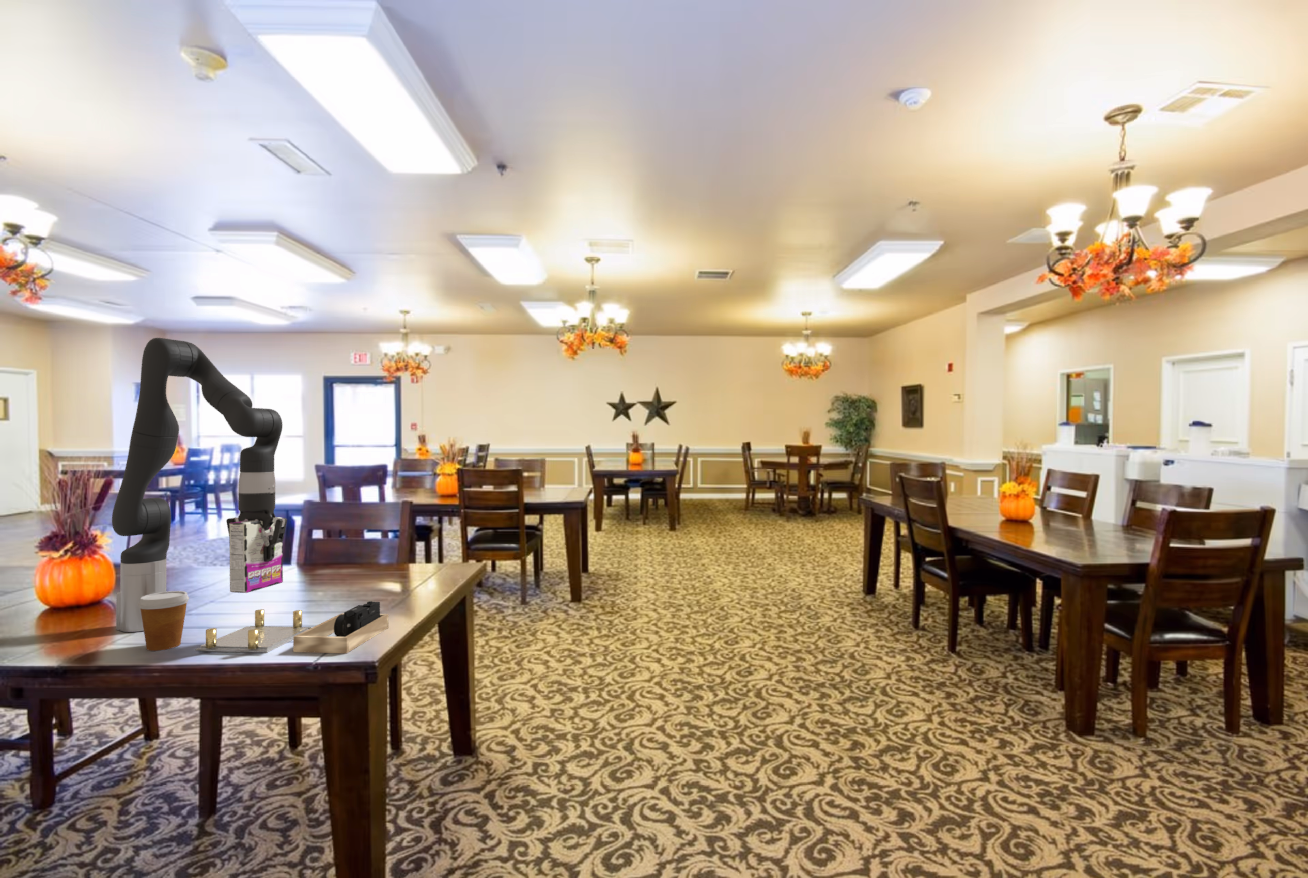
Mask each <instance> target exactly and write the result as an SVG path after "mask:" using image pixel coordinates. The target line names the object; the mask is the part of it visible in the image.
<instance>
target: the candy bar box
mask: <svg viewBox="0 0 1308 878" xmlns="http://www.w3.org/2000/svg"><path fill="white" fill-rule="evenodd" d="M276 517H277V518H281V519H282V518H283V517H280V516H276ZM260 524H262V525H263V522H262V521H254V520H250V521H240V522H234V523H229V532H228V536H229V541H228V542H229V593H238V594H240V593H243V594H244V593H245V594H247V593H251V592H256V591H258V590H262V589H266V588H268V587H273V586H276V585H278V584H281V583H284V577H283V575H284V574H283V573H284V572H283V570H284V568H283V565H284V563H283V562H284V561H283V560H284V558H283V555H284V554H283V541H282V542H280V543H277V544H275V546H274V558H273V560H272V561H269V562H264V547H265V544H264V541H263V539H262V538H261V533H262V532H261V526H260ZM271 527H272V528H273V531H274V528H275V526H274V523H273V524H272V525H271ZM265 532H266V533H268V532H270V528H269V530H266V531H265ZM268 537H269V536H268Z"/></svg>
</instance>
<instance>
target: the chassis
mask: <svg viewBox="0 0 1308 878" xmlns="http://www.w3.org/2000/svg"><path fill="white" fill-rule="evenodd" d="M310 628H312V627H310V626H308V627H307V626H303V610H302V609H296V610H293V611H292V626H275V625H274V626H272V625H271V626H270V625H269V626H268V625H265V609H262V608H260V609H256V610H255V611H254V625H250V626H245V627H243V628H239V629H238V630H234V631H233V632H230V633H228V634H225V635H223V636H221V637H219V638H218V637H217V630H218V629H217V627H210V628H207V629H205V643H204V644H201V645H200V646H199V647H197V648H195V649H194V650H195V651H196V652H197V651H200V652H225V653H230V652H231V653H236V652H237V653H265V654H266V653H270V652H271V651H274V650H275V649H277V648H279V647H282V646H283V645H285V644H287V643H290V642H293V637H294V636H296V635H298V634H300V633H302V632H304V631H306V630H308V629H310Z"/></svg>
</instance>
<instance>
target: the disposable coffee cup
mask: <svg viewBox="0 0 1308 878" xmlns="http://www.w3.org/2000/svg"><path fill="white" fill-rule="evenodd" d="M189 600H190V596H189V595H188V592H187V591H183V590H170V591H166V592H160V593H154V594H149V595H145V596H143V597H141V598H140V602H139V603H138V606H139V608H140V609H141V615H142V622H143V628H144V631H143V634H144V640H145V641H144V642H145V647H146V650H147V651H151V652H152V651H154V652H156V651H165V650H170V649H174V648H176V647H179V646H181V643H182V639H183V638H182V636H183V631H184V625H185V617H186V610H187V605H188V602H189Z"/></svg>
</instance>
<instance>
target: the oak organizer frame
mask: <svg viewBox="0 0 1308 878" xmlns="http://www.w3.org/2000/svg"><path fill="white" fill-rule="evenodd" d="M341 614H344V612H342V613H339V614H337V615H335V616H334V617H331V618H329V619H327V620H325V621H323V622H320V623H319V624H317V625H315V626H312V627H311V628H310V629H308V630H306V631H304V632H302V633H300V634H298V635H296V636H294V637H293V640H292V642H293V644H292V645H293V647H292V649H293V651H292V652H293V653H316V654H317V653H320V654H321V653H322V654H349V653H350V652H351V651H353V650H355V649H357V648H358V647H359V646H361V645H363V644H364V643H366V642H368V641H370V639H372V638H374V637H375V636H377V635H379V634H381V633H383V632H384V631H385V630H387V629H389V627H390V626H389V616H390V615H389V613H380V618H378V619H376V620H374V621H373V622H371V623H369V624H367V625H365V626H364V627H362V628H360V629H358V630H357V631H355V632H353V633H351V634H349V635H348V636H346V637H337V636H330V635H332V634H335V633H334V623H335V621H336V618H337V617H338V616H339V615H341Z"/></svg>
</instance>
